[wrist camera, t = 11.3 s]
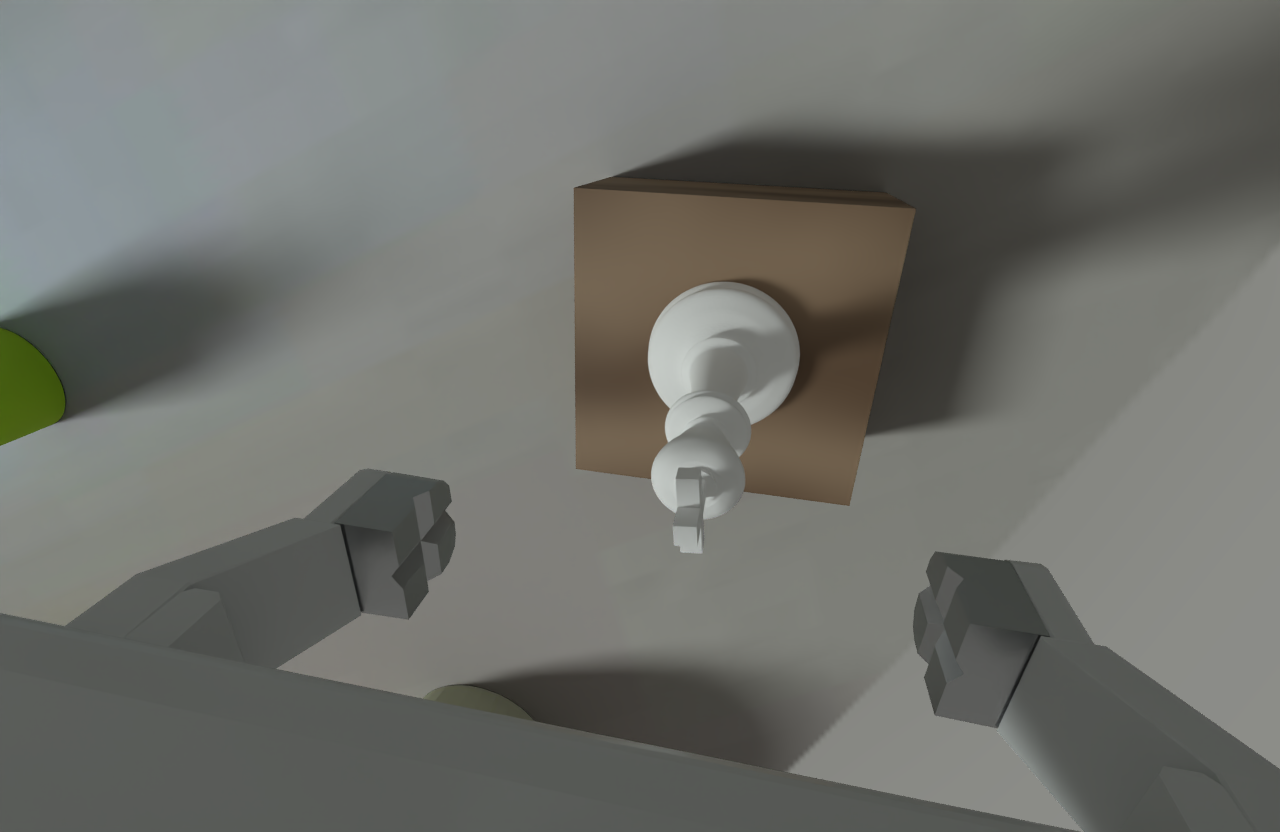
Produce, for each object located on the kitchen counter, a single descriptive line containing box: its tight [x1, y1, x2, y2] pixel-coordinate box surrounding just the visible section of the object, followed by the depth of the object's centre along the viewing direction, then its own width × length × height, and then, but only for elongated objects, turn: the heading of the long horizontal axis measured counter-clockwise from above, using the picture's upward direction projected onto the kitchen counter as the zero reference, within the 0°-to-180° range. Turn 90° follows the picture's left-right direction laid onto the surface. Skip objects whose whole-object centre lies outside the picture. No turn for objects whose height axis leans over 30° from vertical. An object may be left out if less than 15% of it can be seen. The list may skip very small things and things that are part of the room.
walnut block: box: [574, 177, 916, 506], centre depth 22 cm, size 10×10×5 cm
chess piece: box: [648, 282, 800, 553], centre depth 16 cm, size 5×5×10 cm
